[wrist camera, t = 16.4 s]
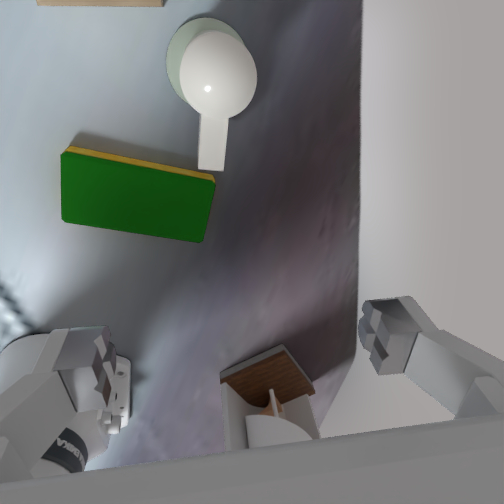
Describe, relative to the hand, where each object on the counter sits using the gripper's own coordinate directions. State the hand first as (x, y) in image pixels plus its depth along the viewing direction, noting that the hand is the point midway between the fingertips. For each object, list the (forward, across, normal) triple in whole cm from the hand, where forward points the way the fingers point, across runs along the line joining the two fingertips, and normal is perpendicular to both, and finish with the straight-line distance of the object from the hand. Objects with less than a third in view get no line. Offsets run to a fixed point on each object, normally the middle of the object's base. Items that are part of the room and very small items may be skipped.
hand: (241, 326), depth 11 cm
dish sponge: (+27, +7, +6) cm, 29 cm away
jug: (+26, 0, -3) cm, 26 cm away
